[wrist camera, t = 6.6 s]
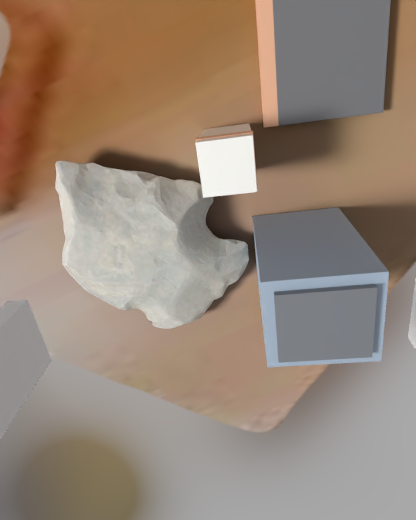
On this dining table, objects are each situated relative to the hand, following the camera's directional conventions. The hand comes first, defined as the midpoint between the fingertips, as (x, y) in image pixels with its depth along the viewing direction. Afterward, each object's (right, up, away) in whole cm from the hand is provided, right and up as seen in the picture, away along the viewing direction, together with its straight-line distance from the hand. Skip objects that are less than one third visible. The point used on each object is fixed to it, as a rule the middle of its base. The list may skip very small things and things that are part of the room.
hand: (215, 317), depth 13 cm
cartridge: (+2, +14, +29) cm, 32 cm away
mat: (+11, +22, +24) cm, 35 cm away
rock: (-8, +6, +34) cm, 35 cm away
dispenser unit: (+11, +4, +33) cm, 35 cm away
